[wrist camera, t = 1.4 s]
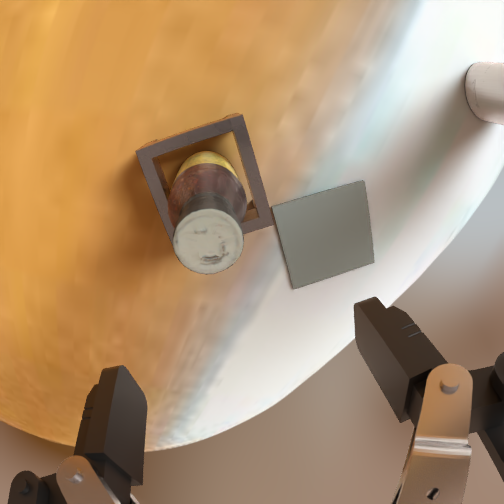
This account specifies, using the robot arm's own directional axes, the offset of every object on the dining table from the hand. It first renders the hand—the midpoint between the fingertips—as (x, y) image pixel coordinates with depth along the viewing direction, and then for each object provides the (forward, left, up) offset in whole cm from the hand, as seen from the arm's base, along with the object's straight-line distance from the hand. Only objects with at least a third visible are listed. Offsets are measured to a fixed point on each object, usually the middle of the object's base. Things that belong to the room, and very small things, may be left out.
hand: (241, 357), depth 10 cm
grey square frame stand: (+1, 0, -29) cm, 29 cm away
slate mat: (-11, +12, -29) cm, 33 cm away
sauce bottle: (+1, 0, -29) cm, 29 cm away
